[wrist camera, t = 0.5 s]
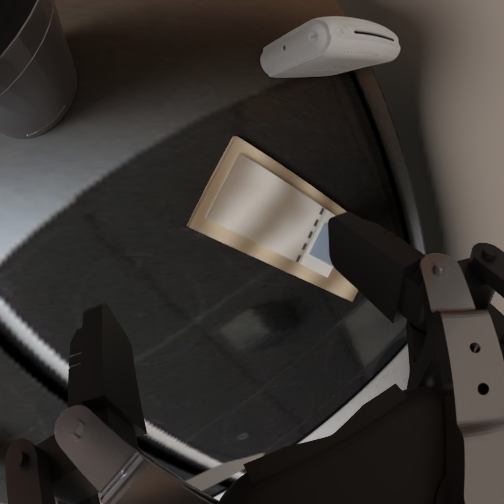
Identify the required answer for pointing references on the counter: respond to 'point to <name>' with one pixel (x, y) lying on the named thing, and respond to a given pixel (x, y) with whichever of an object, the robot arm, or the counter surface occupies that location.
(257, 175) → the perforated strip board
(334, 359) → the counter surface
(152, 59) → the counter surface
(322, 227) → the panel
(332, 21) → the photo printer
